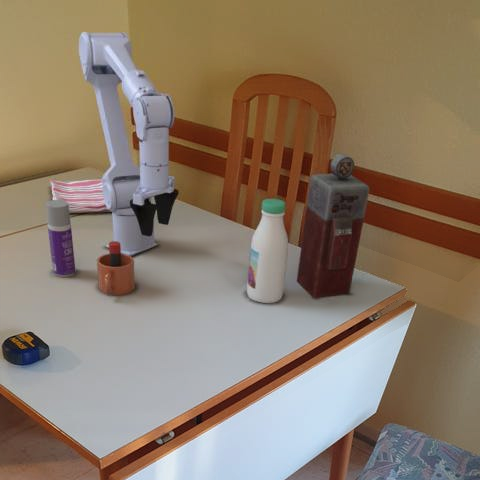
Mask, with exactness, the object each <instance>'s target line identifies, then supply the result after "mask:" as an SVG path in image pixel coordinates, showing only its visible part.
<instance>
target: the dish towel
mask: <svg viewBox="0 0 480 480" xmlns="http://www.w3.org/2000/svg"><path fill="white" fill-rule="evenodd" d="M49 183H50V187H51V188H50V189H51V195H52V200H63V201H66V202H68V206H69V214H84V213H109V212H111V213H112V211H110V210H109V209H108V208H107V207H106V205H105V202H104V198H103V186H102V178H101V179H86V180H73V181H72V180H71V181H70V180H69V181H61V180H50V181H49Z"/></svg>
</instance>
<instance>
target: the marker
mask: <svg viewBox="0 0 480 480" xmlns="http://www.w3.org/2000/svg"><path fill="white" fill-rule="evenodd" d="M108 244H109V248H108V252H109V253H110V267H121V254H122V253H121V246H120V242H117V241H114V240H113V241H110V242H109V243H108Z"/></svg>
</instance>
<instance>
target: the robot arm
mask: <svg viewBox="0 0 480 480" xmlns="http://www.w3.org/2000/svg"><path fill="white" fill-rule="evenodd" d="M132 47H133V45H132V41H131V39H130V37H129V36H128V34H127V33H126V32H124V31H122V32H87V31H82V33H81V34H80V36H79V39H78V55H79V60H80V64H81V69H82V73H83V76H84V81H85V82H87V83H89V84H90V85H92V88H93V91H94V95H95V99H96V103H97V109H98V112H99V117H100V122H101V126H102V131H103V135H104V141H105V145H106V149H107V153H108V158H109V163H110V167H109V168H108V169H107V170H106V171H105V172H104V174H103V175H102V178H101V179H102V186H103V198H104V202H105V205H106V207H107V208H108V209H109V210H110V211H112V212H111V216H112V217H111V218H112V234H113V241H117V242H120V246H121V254H126V255H129V256H131V257H132V256H134V255H138V254H140V253H141V252H145V251H147V250H149V249H151V248H155V247H157V245H158V244H157V243H156V242H155V216H156V215H157V216H156V218H157V222H158V223H157V224H160V225H165V226H168V225H169V224H170V219H171V215H172V211H173V207H174V204H175V202H176V199H177V197H178V196H179V195H180V193H179V189H177V188H174V187H175V186H176V182H175V181H176V180H175V179H176V177H175V176H171V175H170V170H169V169H170V168H169V167H170V165H169V163H170V162H169V161H170V157H169V155H170V151H169V149H170V146H169V145H170V142H169V141H170V132H169V131H170V129H171V128H172V127H173V125H174V122H175V108H174V104H173V101H172V98H171V96H170V95H169V94H168V93H163V92H159V91H158V90H157V87H156V86H155V85H154V84H153V82H152V80H151V79H150V77H149V76H148V74H147V73H146V72H145V71H144V70H143V69H142V70H140V69H138V68H137V66H136V63H135V62H134V60H133V48H132ZM120 84H121V91H122V93H123V94H124V96H125V98H126V100H127V101H128V103H129V105H130V106H131V108H132V114H133V119H134V125H135V132H136V137H137V138H138V143H139V144H138V146H139V165H137V164H135V163H134V162H133V158H132V152H131V149H130V143H129V139H128V133H127V130H126V124H125V120H124V115H123V111H122V105H121V100H120V96H119V91H118V86H119V85H120ZM152 198H153V199H154V202H155V203H152V200H153V199H152ZM105 246H106V248H108V249H109V243H107V244H106V245H105Z"/></svg>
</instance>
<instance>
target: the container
mask: <svg viewBox="0 0 480 480" xmlns="http://www.w3.org/2000/svg"><path fill="white" fill-rule="evenodd" d="M45 212H46V213H45V214H46V220H47V221H46V222H47V233H48V242H49V249H50V257H51V266H52V272H53V273H52V274H53V275H54V276H55V277H58V278H69V277H72V276H74V275H75V274H76V262H75V253H74V243H73V233H72V222H71V215H70V214H71V213H69V206H68V202H66V201H63V200H53V199H51V200H47V201H46V202H45Z"/></svg>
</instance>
